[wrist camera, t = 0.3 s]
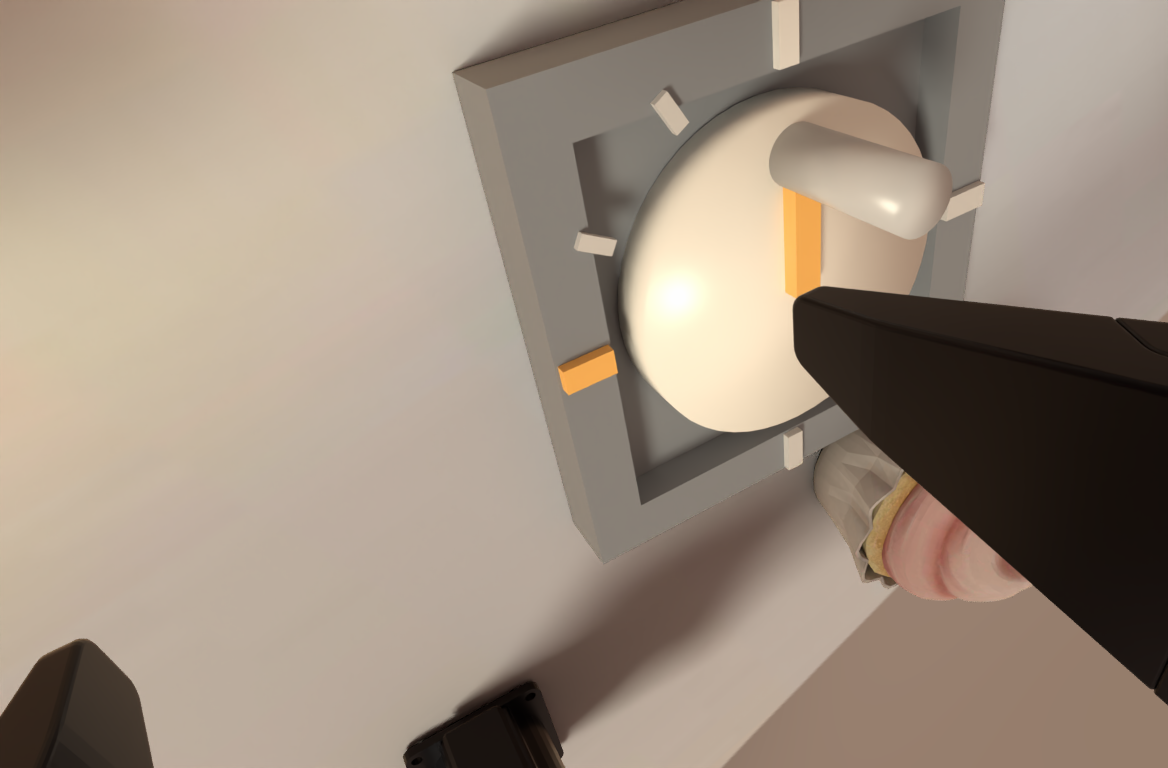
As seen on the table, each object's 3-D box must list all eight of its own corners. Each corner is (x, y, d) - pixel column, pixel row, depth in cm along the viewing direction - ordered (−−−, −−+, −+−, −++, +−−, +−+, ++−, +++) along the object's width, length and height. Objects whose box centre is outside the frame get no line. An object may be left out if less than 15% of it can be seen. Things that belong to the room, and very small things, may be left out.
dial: (882, 337, 33) (1024, 417, 27) (642, 455, 29) (751, 572, 24) (903, 41, 26) (1098, 74, 20) (589, 155, 22) (726, 228, 17)
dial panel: (907, 353, 36) (959, 383, 34) (573, 523, 31) (608, 571, 29) (948, -83, 26) (1027, -82, 23) (452, 72, 21) (491, 92, 18)
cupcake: (941, 341, 37) (1149, 452, 29) (918, 482, 42) (1089, 606, 35) (786, 413, 34) (972, 556, 27) (782, 554, 40) (936, 706, 32)
